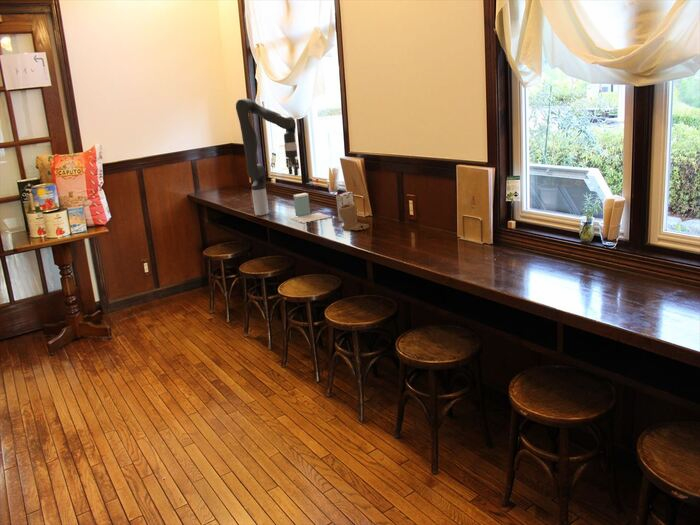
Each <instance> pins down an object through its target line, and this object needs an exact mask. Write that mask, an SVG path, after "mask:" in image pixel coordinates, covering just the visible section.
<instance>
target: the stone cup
mask: <svg viewBox="0 0 700 525" xmlns="http://www.w3.org/2000/svg"><path fill="white" fill-rule="evenodd" d="M339 213H340V216H341V218H342V219H343V222H342V223H343V225H342V226H341V228H340V229H342V230H348V231H358V230H362V229H364V230H366V229H368V228H369V227H370V225H369V224H368V223H360V222H358V209H357V206H356V204H355V203H354V204H353V203H352V204H345V205H342V206H340V207H339ZM362 231H363V230H362Z"/></svg>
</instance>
